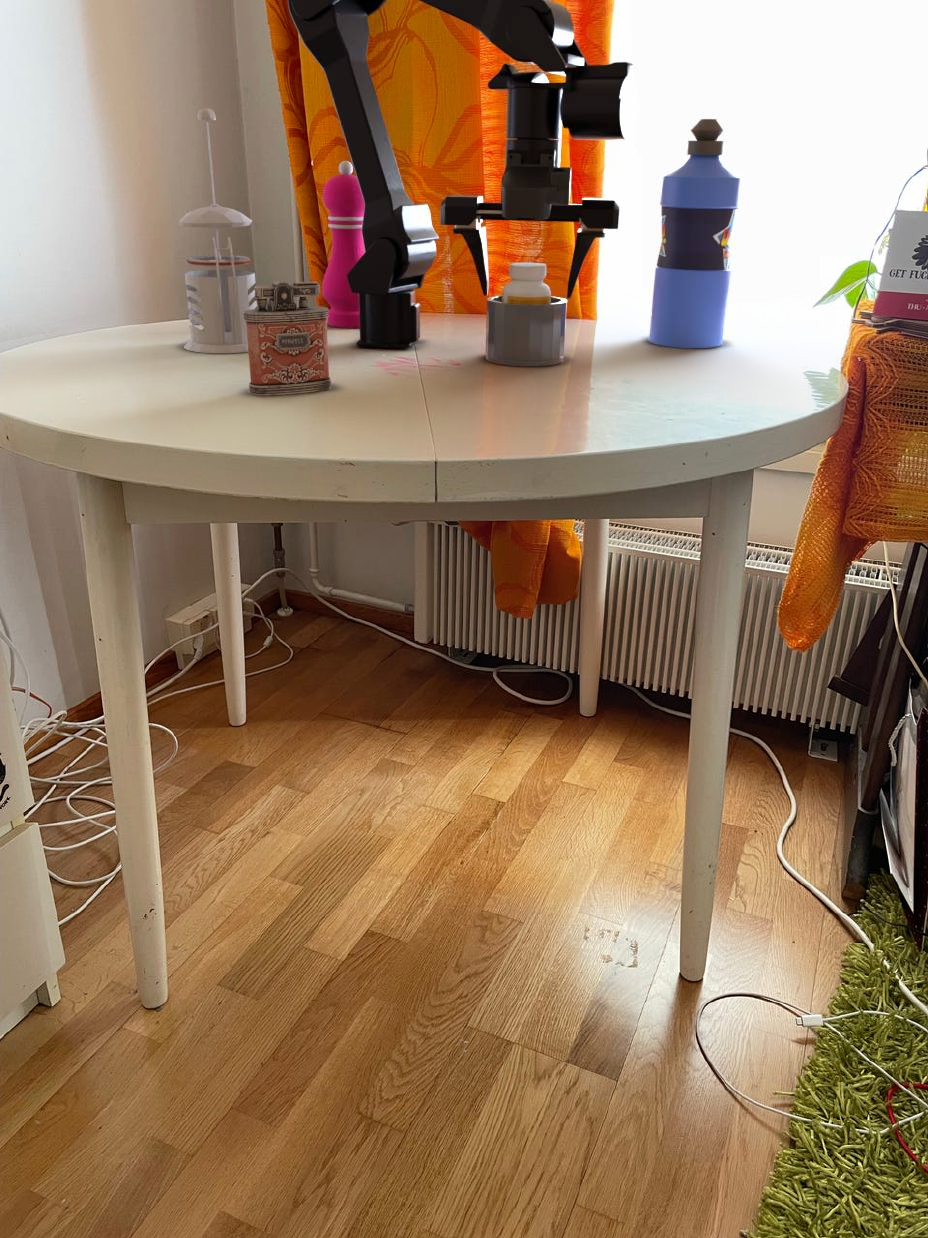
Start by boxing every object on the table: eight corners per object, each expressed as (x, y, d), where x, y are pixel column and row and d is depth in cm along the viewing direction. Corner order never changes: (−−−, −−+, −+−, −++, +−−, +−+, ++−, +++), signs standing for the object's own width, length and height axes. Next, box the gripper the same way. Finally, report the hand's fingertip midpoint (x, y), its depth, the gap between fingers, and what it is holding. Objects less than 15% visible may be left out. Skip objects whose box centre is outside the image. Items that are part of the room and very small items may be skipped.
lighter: (255, 397, 92) (247, 284, 88) (245, 389, 95) (236, 280, 91) (336, 389, 96) (332, 281, 92) (324, 382, 99) (319, 277, 94)
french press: (262, 337, 122) (246, 110, 112) (276, 353, 112) (260, 106, 102) (180, 340, 120) (156, 108, 109) (187, 357, 110) (161, 103, 99)
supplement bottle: (492, 351, 113) (494, 262, 109) (534, 348, 115) (537, 260, 111) (513, 359, 108) (517, 267, 104) (556, 356, 110) (561, 265, 106)
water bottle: (640, 344, 122) (660, 117, 111) (656, 333, 130) (676, 120, 119) (716, 350, 119) (744, 117, 108) (728, 339, 127) (755, 120, 116)
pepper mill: (368, 329, 129) (364, 160, 120) (316, 327, 130) (308, 159, 122) (384, 321, 135) (381, 161, 127) (333, 319, 137) (327, 160, 128)
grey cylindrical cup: (481, 364, 109) (482, 303, 106) (490, 350, 116) (491, 293, 114) (561, 367, 108) (565, 305, 105) (565, 353, 115) (568, 295, 113)
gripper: (432, 136, 96) (432, 303, 103) (625, 139, 94) (612, 309, 101) (448, 138, 106) (447, 290, 113) (623, 141, 104) (612, 295, 111)
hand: (527, 296), depth 109 cm, fingers open, 9 cm apart
